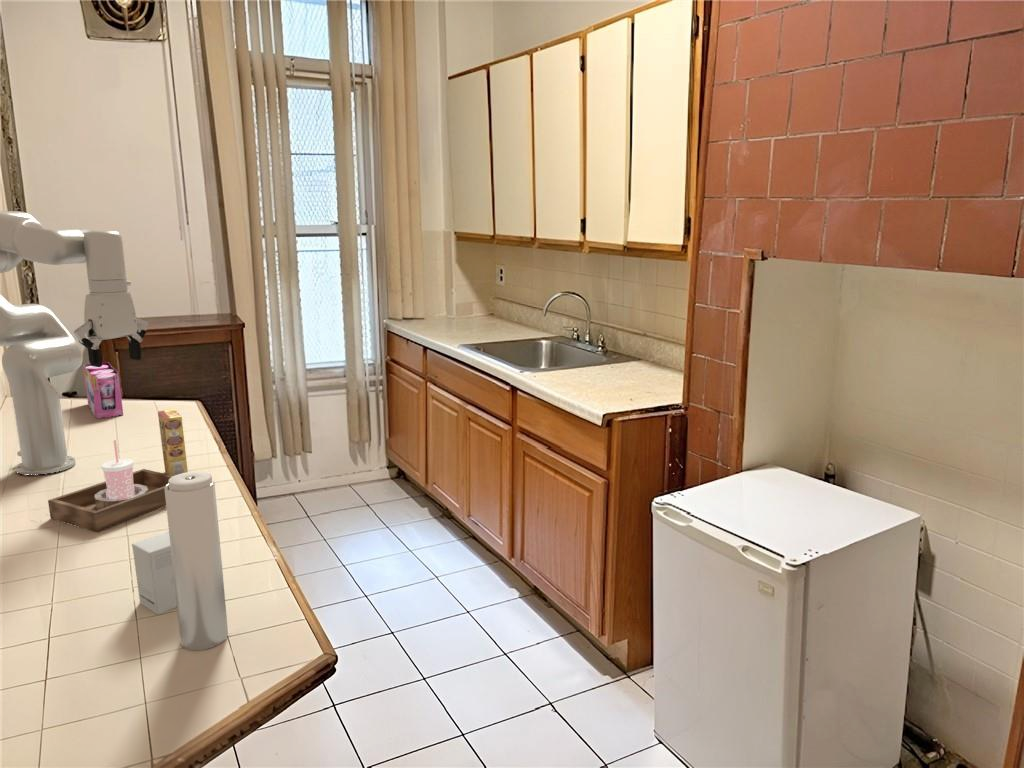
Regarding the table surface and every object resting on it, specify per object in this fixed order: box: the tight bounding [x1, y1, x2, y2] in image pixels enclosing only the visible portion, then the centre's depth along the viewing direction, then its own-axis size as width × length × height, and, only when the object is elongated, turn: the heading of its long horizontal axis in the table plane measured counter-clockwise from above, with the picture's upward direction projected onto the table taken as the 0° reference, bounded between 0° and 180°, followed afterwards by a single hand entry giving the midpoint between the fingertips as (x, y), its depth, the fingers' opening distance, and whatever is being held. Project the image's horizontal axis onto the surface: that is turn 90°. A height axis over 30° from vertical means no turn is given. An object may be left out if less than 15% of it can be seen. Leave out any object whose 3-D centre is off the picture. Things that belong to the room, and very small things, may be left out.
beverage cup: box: [100, 439, 135, 499], centre depth 158 cm, size 6×6×14 cm
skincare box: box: [131, 531, 177, 615], centre depth 121 cm, size 10×6×10 cm, turn 141°
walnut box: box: [47, 468, 173, 533], centre depth 159 cm, size 15×22×4 cm
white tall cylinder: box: [164, 471, 229, 651], centre depth 107 cm, size 6×6×25 cm
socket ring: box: [94, 484, 148, 510], centre depth 159 cm, size 10×10×2 cm
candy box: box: [157, 408, 189, 476], centre depth 178 cm, size 9×4×15 cm, turn 33°
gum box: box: [82, 361, 124, 419], centre depth 238 cm, size 24×8×14 cm, turn 35°
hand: (116, 362), depth 170 cm, fingers open, 9 cm apart
